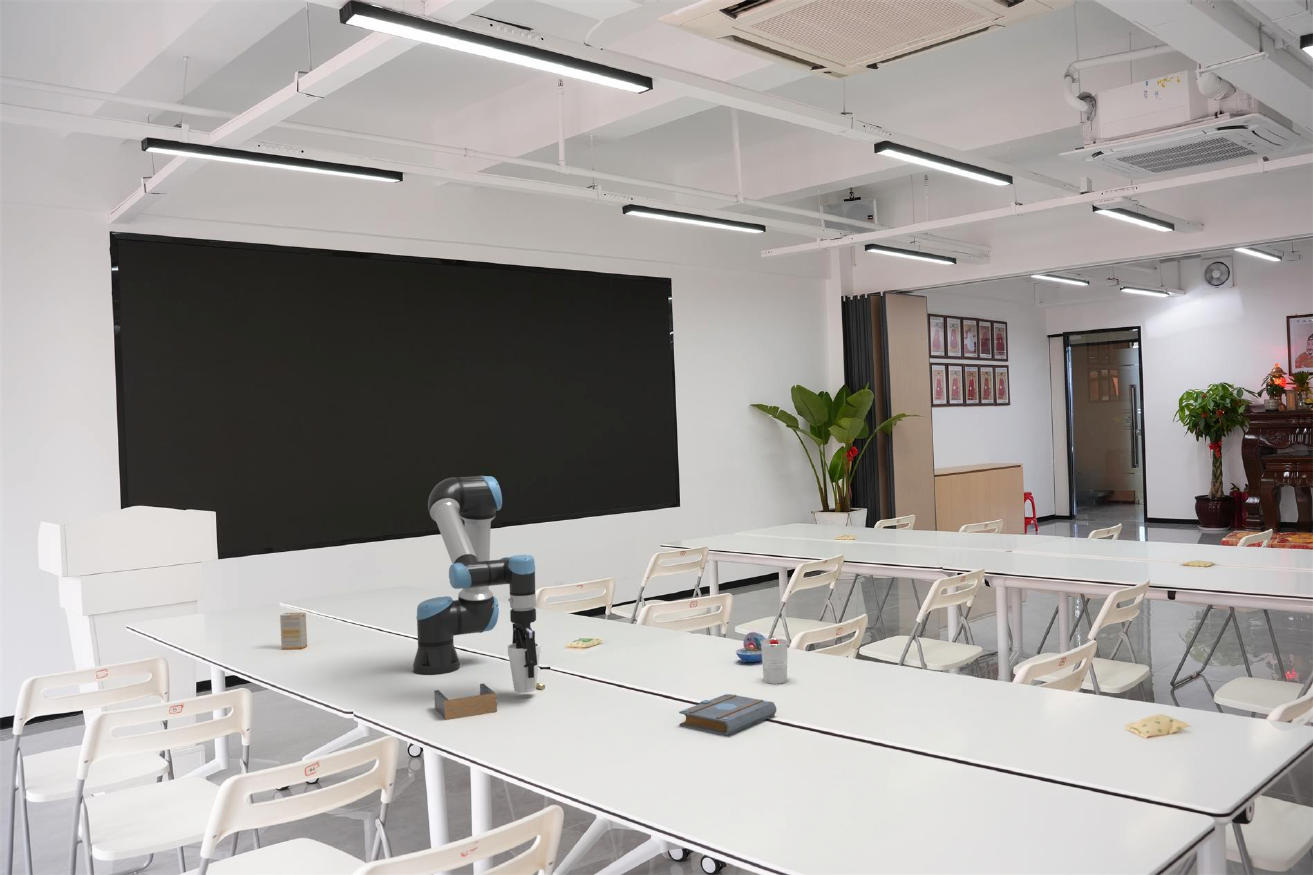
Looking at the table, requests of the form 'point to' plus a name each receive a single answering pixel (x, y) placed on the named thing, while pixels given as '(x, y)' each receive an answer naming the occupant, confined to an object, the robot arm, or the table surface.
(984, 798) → the table surface
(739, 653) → the cell model
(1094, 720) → the table surface
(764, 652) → the ribbed metal can
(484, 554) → the robot arm
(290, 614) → the supplement box
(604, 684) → the table surface
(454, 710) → the channel
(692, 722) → the book
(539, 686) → the brass key
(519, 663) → the foam cup
